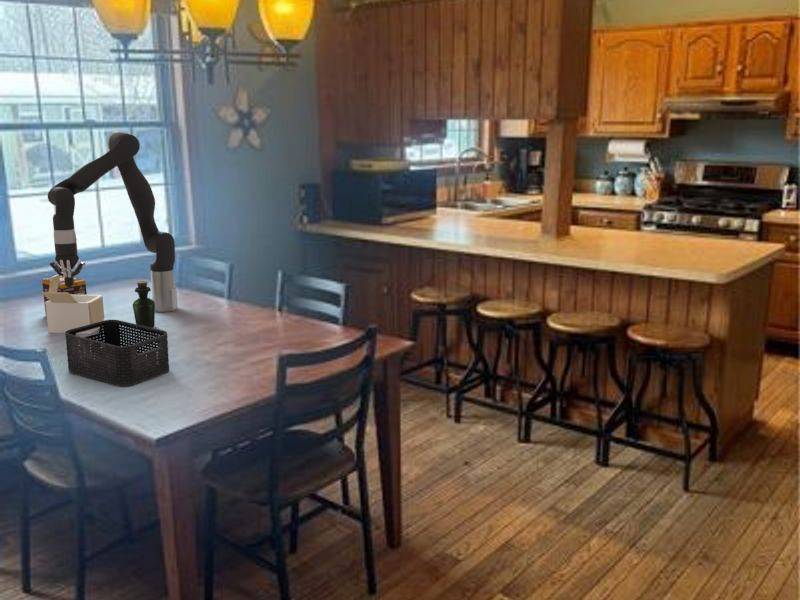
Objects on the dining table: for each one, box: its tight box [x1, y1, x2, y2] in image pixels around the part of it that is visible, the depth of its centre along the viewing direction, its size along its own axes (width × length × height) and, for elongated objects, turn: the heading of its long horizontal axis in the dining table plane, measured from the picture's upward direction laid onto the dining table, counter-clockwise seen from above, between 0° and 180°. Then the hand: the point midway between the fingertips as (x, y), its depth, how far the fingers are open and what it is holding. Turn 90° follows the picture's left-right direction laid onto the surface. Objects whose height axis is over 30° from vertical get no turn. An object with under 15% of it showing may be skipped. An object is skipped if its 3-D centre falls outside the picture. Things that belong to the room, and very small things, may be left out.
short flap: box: [47, 273, 60, 299], centre depth 269 cm, size 9×6×1 cm
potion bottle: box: [132, 280, 156, 328], centre depth 274 cm, size 8×8×18 cm
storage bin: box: [64, 319, 170, 388], centre depth 227 cm, size 29×19×13 cm
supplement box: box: [41, 276, 88, 317], centre depth 288 cm, size 10×15×16 cm
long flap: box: [41, 291, 78, 303], centre depth 260 cm, size 10×9×1 cm
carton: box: [44, 294, 105, 335], centre depth 272 cm, size 17×13×12 cm
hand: (69, 286), depth 269 cm, fingers closed
